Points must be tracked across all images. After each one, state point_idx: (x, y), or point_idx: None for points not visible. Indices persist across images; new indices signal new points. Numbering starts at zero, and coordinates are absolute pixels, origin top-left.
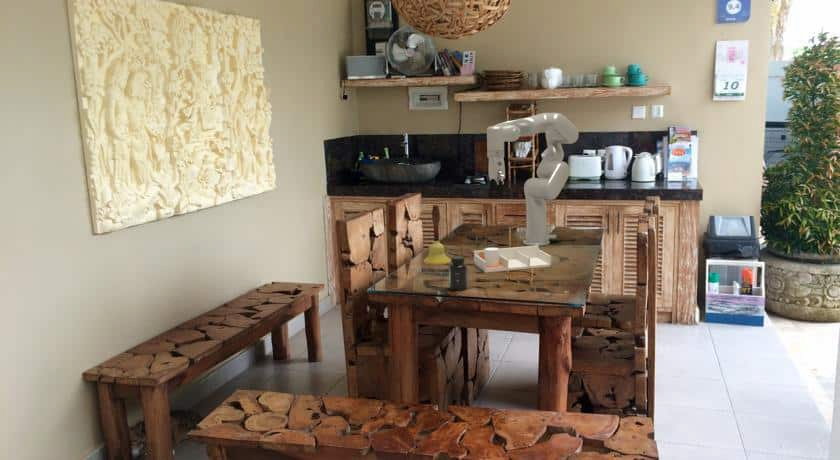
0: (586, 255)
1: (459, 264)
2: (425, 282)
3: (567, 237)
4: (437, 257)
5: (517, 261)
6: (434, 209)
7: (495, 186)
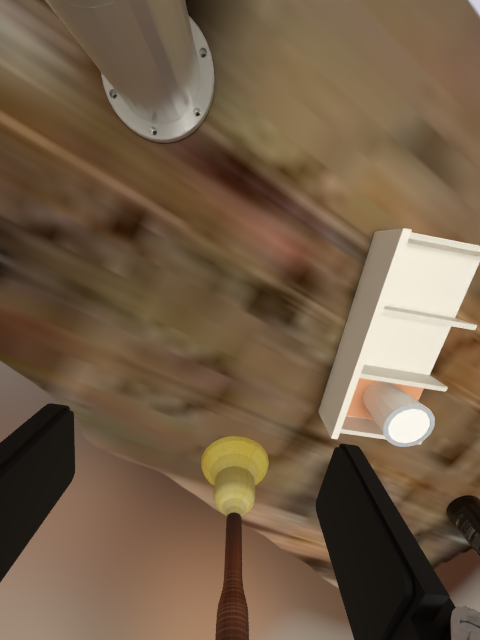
0: (454, 24)
1: None
2: None
3: None
4: (255, 482)
5: (387, 319)
6: None
7: (31, 460)
